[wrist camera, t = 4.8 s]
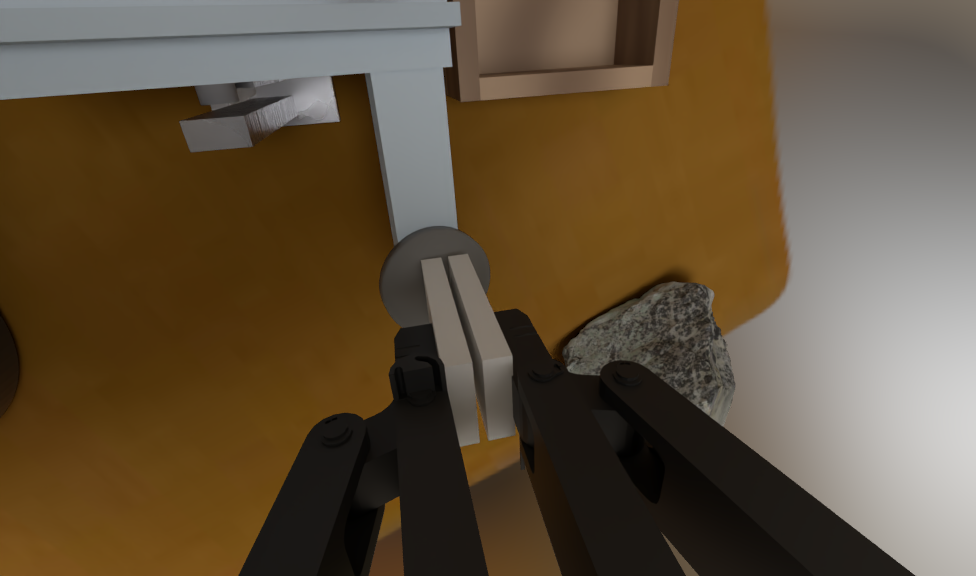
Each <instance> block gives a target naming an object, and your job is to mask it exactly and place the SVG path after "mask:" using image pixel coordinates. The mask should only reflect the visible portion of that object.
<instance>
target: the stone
mask: <svg viewBox="0 0 976 576" xmlns="http://www.w3.org/2000/svg"><path fill="white" fill-rule="evenodd" d="M713 298H714V292H713V291H712V290H711V289H709V288H708V287H706V286H705V285H701V284H698V283H680V282H675V281H673V282H668V283H662V284H659V285H656V286H655V287H653V288H652V289H650V290H649V291H648V292H646V293H645V294H644V295H643V296H642V297H641V298H639V299H633V300H629V301H627V302H626V303H625V304H622V305H620V306H618V307H616V308H614V309H611V310H610V311H609V312H607V313H606V314H604V315H601V316H599V317H598V318H596V319H594V320H593V321H591V322H590V323H588V324H587V325H586V326H585V328H584V329H582V330H580V333H579V334H578V335H577V336H576V337H575V338H573V339H571V340H570V342H569V343H568V344H567V345H566V346H565V347H564V348H563V352H562V355H563V358H564V360H565V367H566V368H567V369H568V371H569V372H571V373H574V374H582V375H600V371H601V369H602V368H603V366H604V365H606V364H608V363H609V362H612V361H617V360H626V361H632V362H636V363H639V364H641V365H643V366H644V367H646V368H648V369H649V370H650V371H652V372H653V373H654V374H656V375H657V376H658V377H660V378H661V379H662V380H663V381H665V382H666V383H667V384H669V385H670V386H671V387H672V388H674V389H675V390H676V391H678V392H679V393H680V394H681V395H683V396H684V397H685V398H687V399H688V400H689V401H690V402H692V403H693V404H694V405H696V406H697V407H698V408H700V409H701V410H702V411H703V412H705V413H706V414H707V415H709V416H710V417H711V418H712V419H714V420H715V421H716V422H718V423H719V424H720V425H721V426H723V425H724V423H725V420H726V417H727V414H728V412H729V409H730V406H731V403H732V398H733V393H734V390H735V382H734V376H733V372H732V367H731V360H730V357H729V353H728V351H727V350H726V349H727V344H726V342H725V340H724V339H723V338H722V335H721V329H720V328H719V327H717V325H716V322H715V321H714V317H713V312H712V309H711V304H712V301H713Z"/></svg>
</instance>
